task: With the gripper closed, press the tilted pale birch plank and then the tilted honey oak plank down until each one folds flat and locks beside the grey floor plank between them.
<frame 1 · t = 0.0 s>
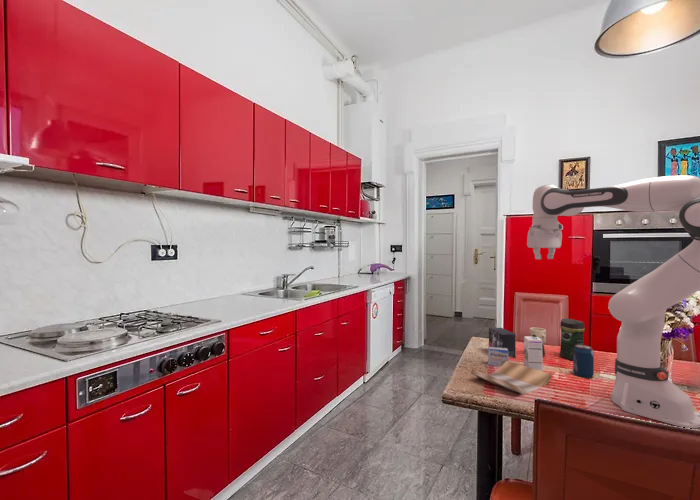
hand: (544, 259, 138), 48 cm above the table, tool pointing down, fingers open, 8 cm apart
medicine box: (498, 368, 147), on the table
small box: (501, 355, 165), on the table
character mug: (537, 355, 164), on the table
oak plank: (523, 374, 132), point 3 cm above the table, hinge at 25.0°
grey plank: (510, 385, 128), on the table
syrup box: (533, 372, 142), on the table
soda can: (583, 375, 138), on the table
coffee jar: (572, 358, 160), on the table
birch plank: (497, 382, 123), point 3 cm above the table, hinge at 30.0°
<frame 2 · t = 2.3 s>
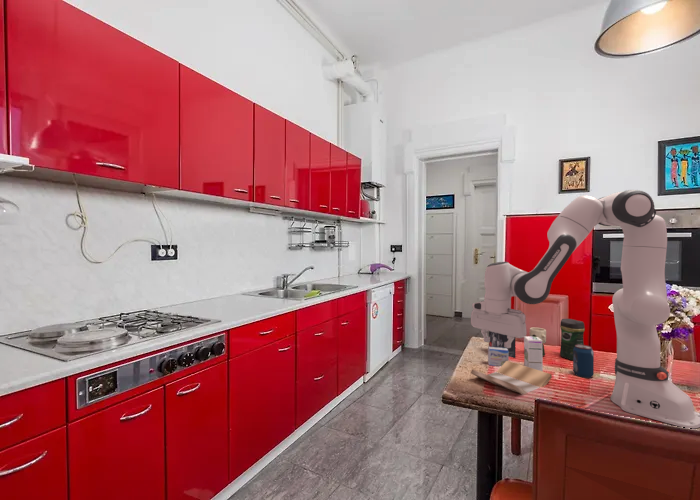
hand: (496, 344, 121), 17 cm above the table, tool pointing down, fingers open, 7 cm apart
nothing on the table moved.
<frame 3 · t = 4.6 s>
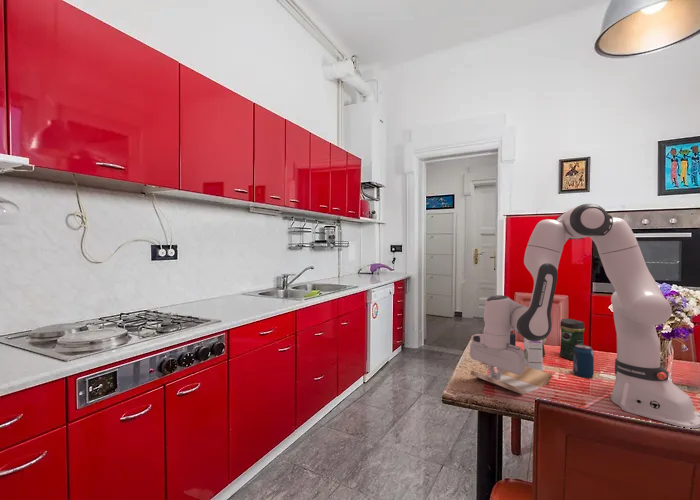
hand: (495, 378, 121), 5 cm above the table, tool pointing down, fingers closed, pressing on birch plank
birch plank: (497, 383, 123), point 3 cm above the table, hinge at 26.7°, touching gripper
everything else where it was.
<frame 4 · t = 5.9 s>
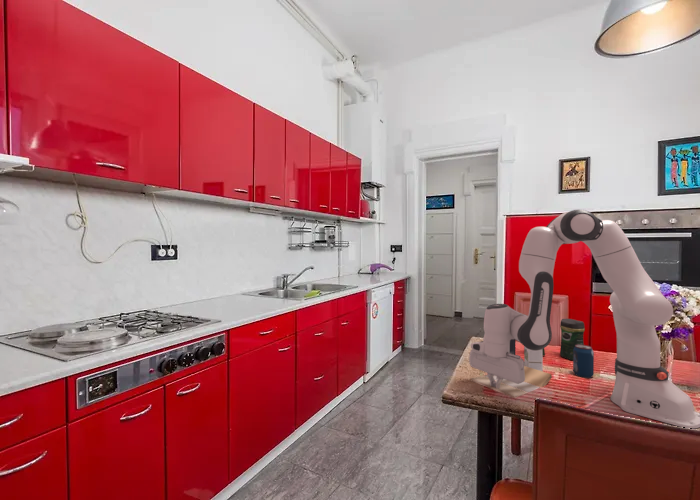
hand: (495, 386, 121), 2 cm above the table, tool pointing down, fingers closed, pressing on birch plank
birch plank: (497, 387, 123), point 1 cm above the table, hinge at 4.4°, touching gripper
everything else where it was.
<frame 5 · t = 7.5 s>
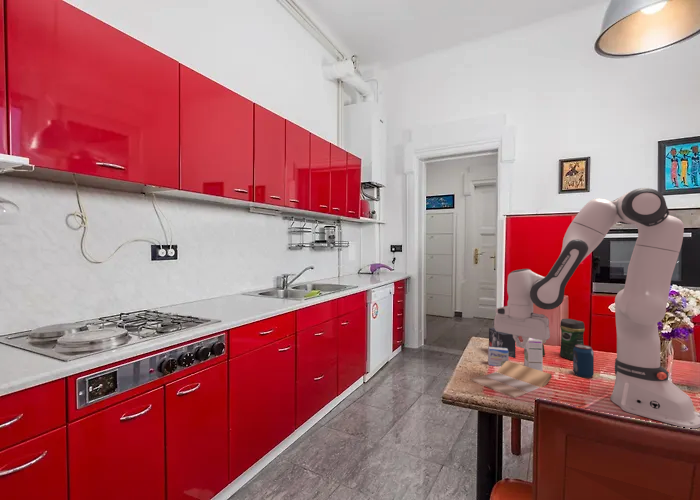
hand: (520, 347, 128), 14 cm above the table, tool pointing down, fingers closed
birch plank: (497, 387, 123), point 1 cm above the table, hinge at 4.3°
everything else where it was.
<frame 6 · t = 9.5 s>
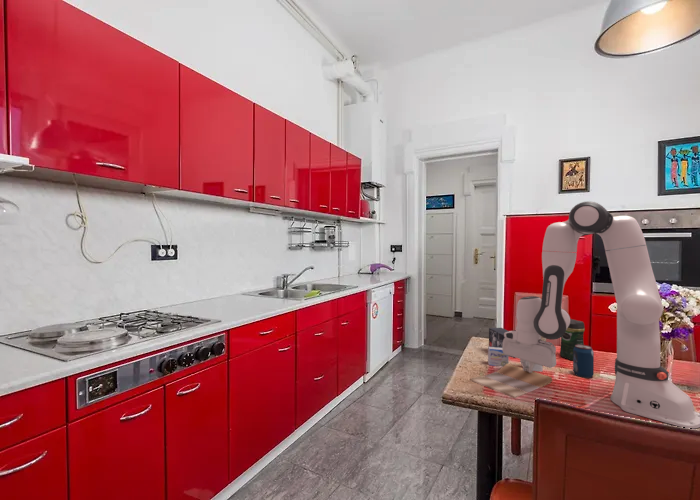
hand: (527, 371, 133), 3 cm above the table, tool pointing down, fingers closed, pressing on oak plank
oak plank: (523, 376, 132), point 2 cm above the table, hinge at 15.0°, touching gripper
everything else where it was.
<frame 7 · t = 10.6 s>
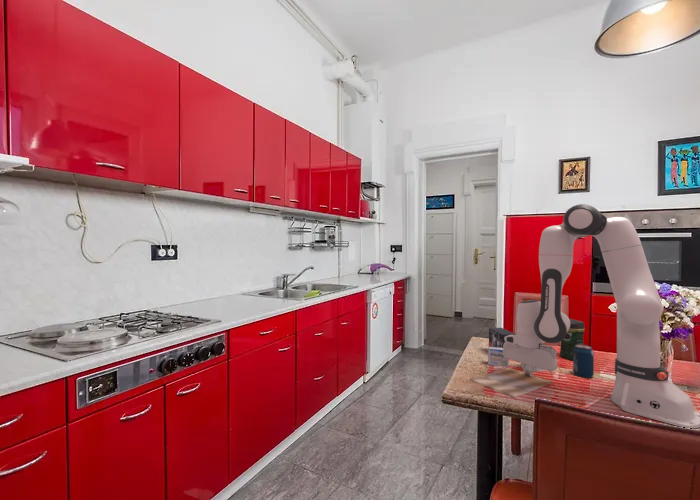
hand: (528, 375, 133), 2 cm above the table, tool pointing down, fingers closed
oak plank: (523, 378, 132), point 1 cm above the table, hinge at 2.5°
everything else where it was.
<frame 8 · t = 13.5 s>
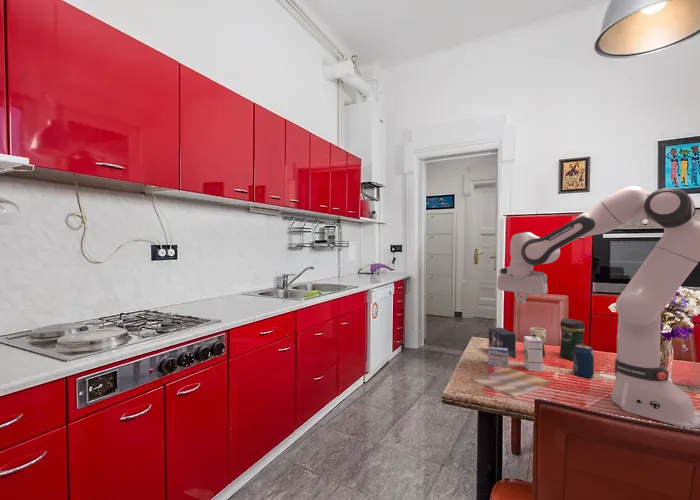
hand: (521, 303, 142), 29 cm above the table, tool pointing down, fingers closed
nothing on the table moved.
at the end: birch plank at +4° (first picture: +30°); oak plank at +2° (first picture: +25°) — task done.
